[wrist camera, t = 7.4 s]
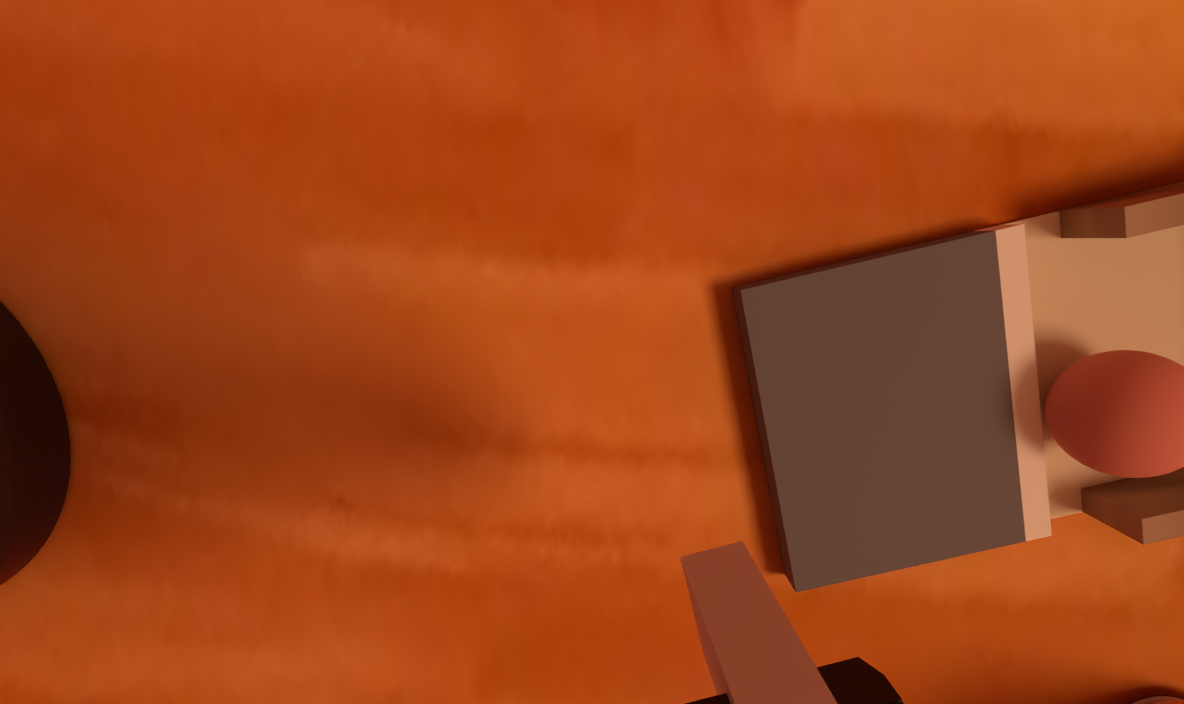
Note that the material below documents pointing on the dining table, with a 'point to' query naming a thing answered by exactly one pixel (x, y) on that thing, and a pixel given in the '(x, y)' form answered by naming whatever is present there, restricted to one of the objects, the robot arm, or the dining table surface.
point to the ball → (1120, 413)
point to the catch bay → (1151, 501)
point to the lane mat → (940, 388)
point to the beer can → (1160, 700)
